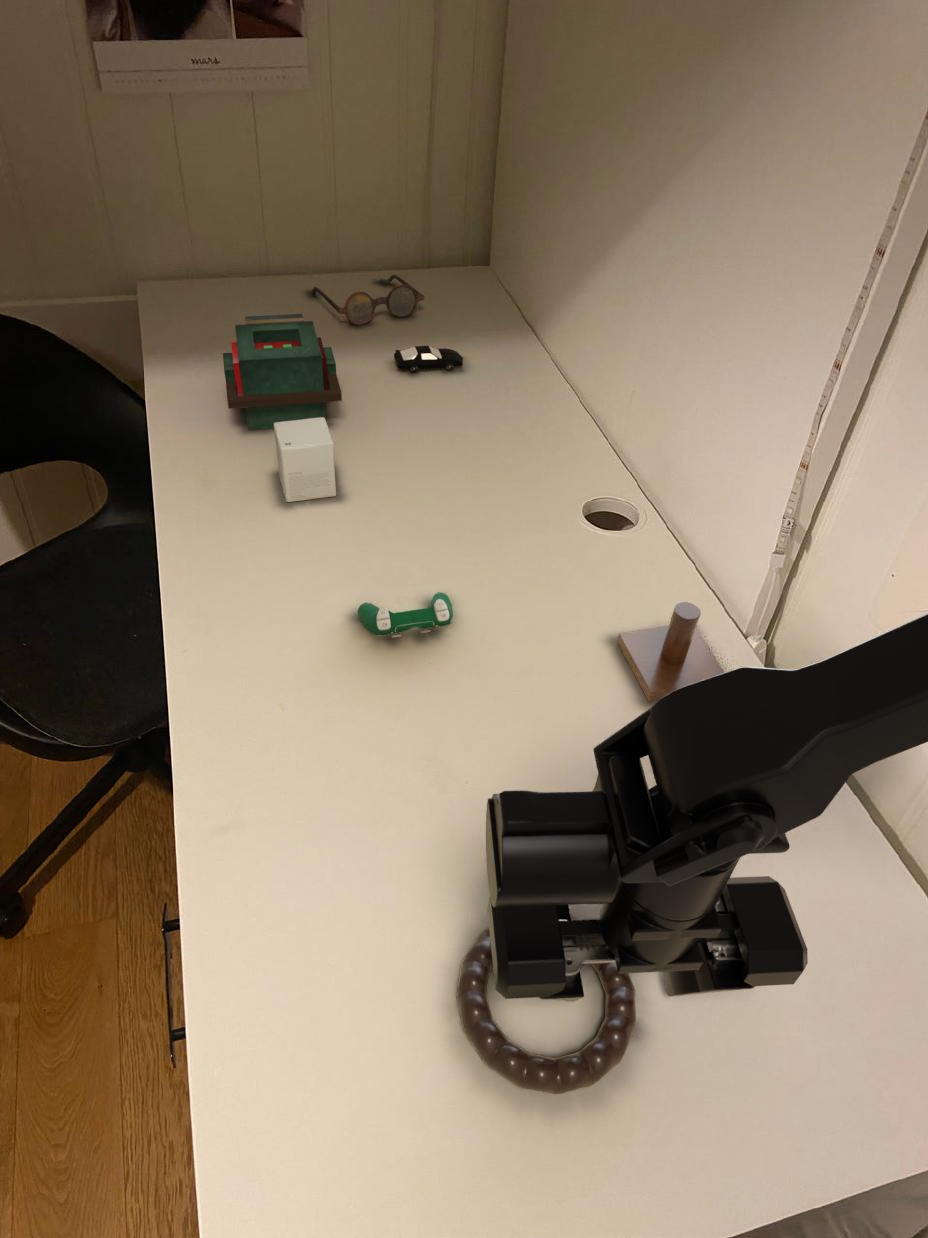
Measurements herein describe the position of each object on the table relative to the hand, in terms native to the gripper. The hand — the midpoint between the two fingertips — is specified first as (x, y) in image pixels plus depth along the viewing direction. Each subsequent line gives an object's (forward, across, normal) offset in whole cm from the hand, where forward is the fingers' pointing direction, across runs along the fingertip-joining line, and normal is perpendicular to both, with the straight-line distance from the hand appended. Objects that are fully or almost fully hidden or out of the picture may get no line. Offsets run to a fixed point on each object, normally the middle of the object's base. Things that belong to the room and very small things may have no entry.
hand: (619, 991), depth 57 cm
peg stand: (+1, -12, -31) cm, 34 cm away
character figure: (+1, +30, -83) cm, 88 cm away
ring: (0, +5, 0) cm, 5 cm away
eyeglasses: (+1, +19, -114) cm, 116 cm away
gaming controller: (+1, +14, -37) cm, 39 cm away
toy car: (+1, +9, -93) cm, 93 cm away
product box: (+1, +25, -62) cm, 66 cm away
